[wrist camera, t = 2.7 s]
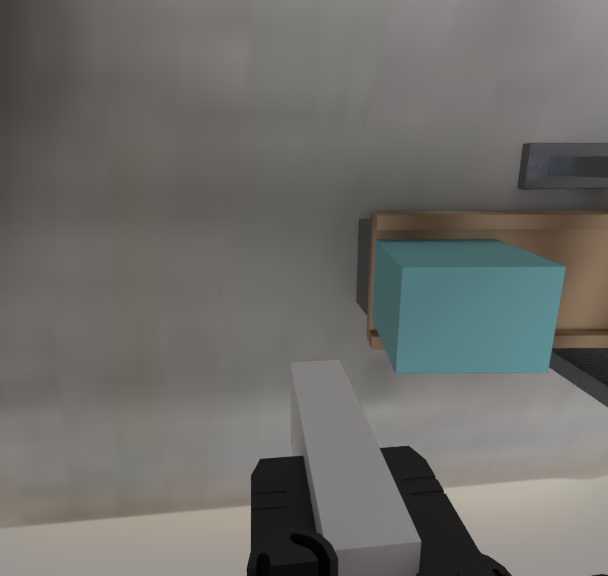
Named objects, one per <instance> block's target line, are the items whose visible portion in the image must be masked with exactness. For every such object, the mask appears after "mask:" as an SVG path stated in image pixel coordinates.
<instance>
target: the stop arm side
mask: <svg viewBox="0 0 608 576" xmlns="http://www.w3.org/2000/svg"><path fill="white" fill-rule="evenodd" d="M370 241H371V219H359V239H358V271H357V303H358V304H359V306H360V307H361V308H362V309H363V311H364V312H365V313H366V315H367V316H368V292H369V266H370Z"/></svg>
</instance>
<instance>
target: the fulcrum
mask: <svg viewBox="0 0 608 576" xmlns="http://www.w3.org/2000/svg"><path fill="white" fill-rule="evenodd" d="M518 188H521V189H551V188H608V143H528V144H524V145H523V152H522V160H521V168H520V175H519V183H518ZM603 349H604V348H552V351H551V357H550V363H549V367H550V368H551V369H552V370H554V371H555V372H557V373H558V374H560V375H561V376H563V377H564V378H566V379H567V380H569V381H570V382H572V383H573V384H574V385H576V386H577V387H579V388H580V389H582V390H583V391H585V392H586V393H588V394H589V395H591V396H592V397H594V398H595V399H596V400H598V401H599V402H601V403H602V404H604V405H605V406H607V407H608V358H607V357H606V356H604V355H603Z"/></svg>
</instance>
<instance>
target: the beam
mask: <svg viewBox="0 0 608 576" xmlns="http://www.w3.org/2000/svg"><path fill="white" fill-rule="evenodd" d="M376 239H497V240H500V241H502V242H505V243H507V244H510V245H512V246H515V247H517V248H520V249H522V250H525V251H527V252H530V253H533V254H535V255H538V256H540V257H543V258H545V259H548V260H550V261H553V262H555V263H558V264H560V265H563V266H565V267H566V269H565V275H564V281H563V287H562V293H561V298H560V304H559V310H558V316H557V322H556V328H555V334H554V340H553V345H552V348H604V349H603V355H604V356H606V357H607V358H608V210H601V211H381V212H372V216H371V241H370V266H369V292H368V317H367V338H368V341H369V344H370V346H371V349H385V348H384V345H383V343H382V341H381V339H380V336H379V334H378V332H377V330H376V328H375V325H374V323H373V321H372V311H373V288H374V264H375V241H376Z"/></svg>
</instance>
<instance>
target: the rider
mask: <svg viewBox="0 0 608 576" xmlns="http://www.w3.org/2000/svg"><path fill="white" fill-rule="evenodd" d="M565 269H566V267H565V266H563V265H560V264H558V263H555V262H553V261H550V260H548V259H545V258H543V257H540V256H538V255H535V254H533V253H530V252H527V251H525V250H522V249H520V248H517V247H515V246H512V245H510V244H507V243H505V242H502V241H500V240H497V239H376V241H375V264H374V288H373V311H372V321H373V323H374V325H375V328H376V330H377V332H378V334H379V336H380V339H381V341H382V343H383V345H384V348H385V350H386V352H387V354H388V357H389V359H390V361H391V363H392V366H393V368H394V370H395V372H396V373H544V372H548V369H549V363H550V357H551V351H552V345H553V340H554V334H555V328H556V322H557V316H558V310H559V304H560V298H561V293H562V287H563V281H564V275H565Z"/></svg>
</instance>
